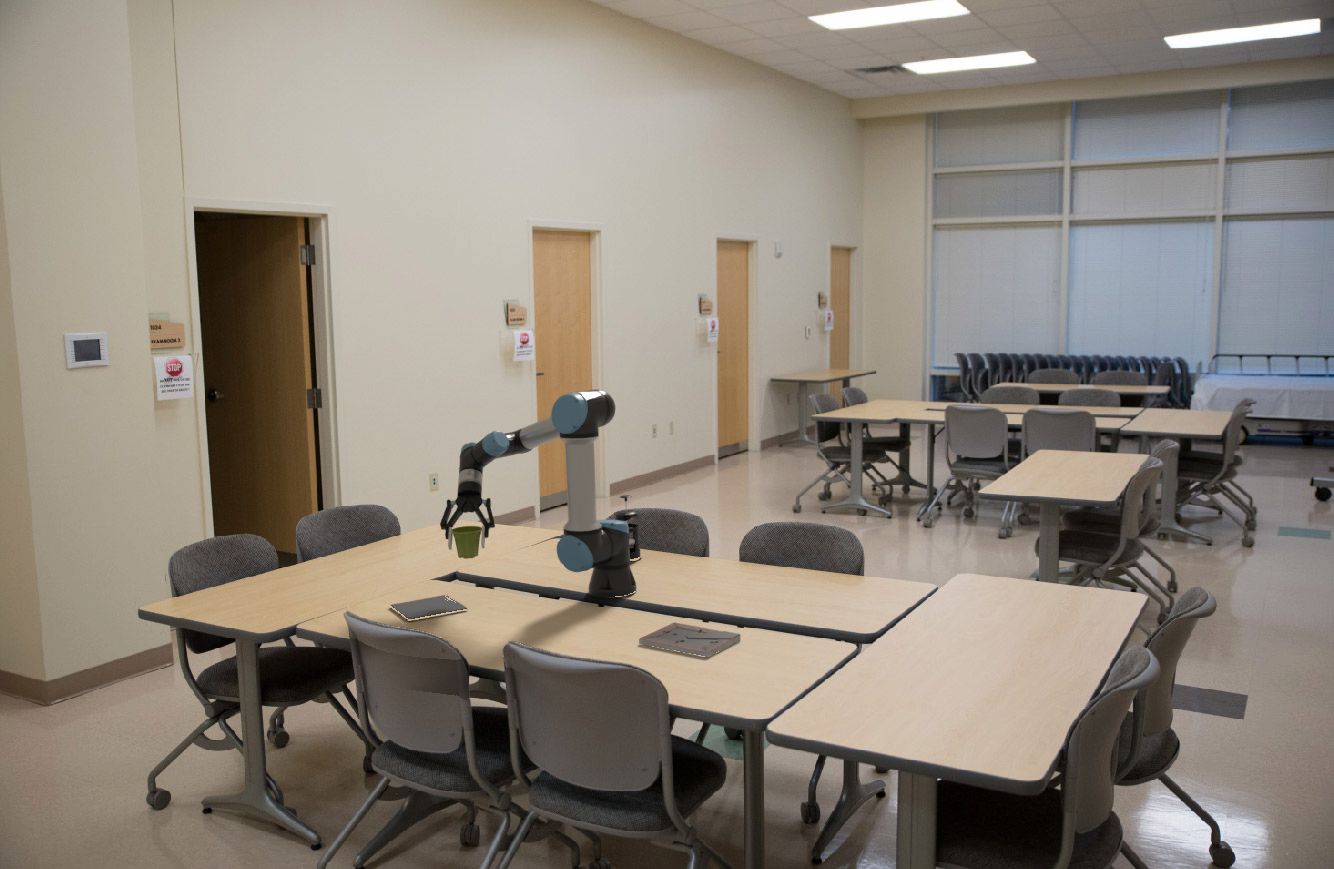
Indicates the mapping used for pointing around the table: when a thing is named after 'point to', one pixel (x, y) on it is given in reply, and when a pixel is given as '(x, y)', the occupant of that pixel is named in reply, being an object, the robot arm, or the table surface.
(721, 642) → the picture frame
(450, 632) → the table surface
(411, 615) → the charcoal mat
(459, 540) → the plant pot
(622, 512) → the french press
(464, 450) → the robot arm
